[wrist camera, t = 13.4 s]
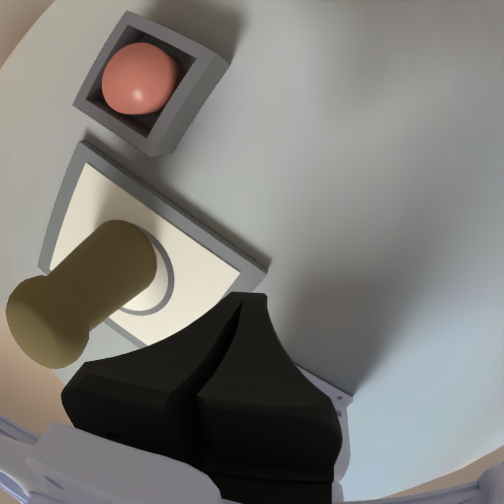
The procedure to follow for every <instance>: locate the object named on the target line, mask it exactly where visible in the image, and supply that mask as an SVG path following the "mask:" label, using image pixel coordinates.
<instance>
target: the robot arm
mask: <svg viewBox="0 0 504 504" xmlns="http://www.w3.org/2000/svg"><path fill="white" fill-rule="evenodd" d="M338 396H341V397H338ZM61 400H62V404H63V406H64V409H65V411H66V413H67V415H68V417H69V418H70V420H71V422H72V423H73V425H74V427H72V426H69V425H65V424H60V423H52V424H51V425H50V426H49V427H48V428H47V429H46V430H45V432H44V433H43V435H42V436H40V435H38V434H36V433H34V432H32V431H30V430H28V429H26V428H24V427H22V426H21V425H19V424H17V423H16V422H14V421H12V420H11V419H9V418H7V417H6V416H4V415H2V414H1V413H0V488H2V489H3V490H4V491H6V492H7V493H8V494H10V495H11V496H12V497H14V498H15V499H16V500H18V501H19V502H21V503H22V504H504V461H503V462H499V463H497V464H495V465H493V466H491V467H489V468H488V469H487V470H486V471H485V472H484V473H483V474H482V475H481V476H480V477H479V479H478V480H476V481H472V482H469V483H465V484H461V485H457V486H453V487H449V488H445V489H440V490H436V491H431V492H426V493H420V494H415V495H408V496H401V497H395V498H386V499H377V500H366V501H351V502H344V499H343V490H342V486H341V484H339V482H340V481H341V479H342V478H343V476H344V474H345V473H346V470H347V468H348V465H349V461H350V442H349V430H348V418H347V408H346V407H347V406H349V405H350V404H351V403H352V402H353V399H352V397H351V396H349V395H348V394H346V393H344V392H342V391H340V390H338V389H337V388H335V387H333V386H331V385H330V384H328V383H326V382H324V381H322V380H321V379H319V378H317V377H315V376H314V375H312V374H310V373H309V372H307V371H305V370H303V369H302V368H300V367H298V366H297V365H295V364H294V363H293V361H292V360H291V359H290V357H289V356H288V354H287V353H286V351H285V350H284V348H283V346H282V345H281V343H280V341H279V339H278V337H277V335H276V332H275V330H274V328H273V325H272V323H271V320H270V317H269V313H268V309H267V296H266V295H265V294H264V293H249V292H235V291H231V292H230V293H229V294H228V295H227V296H225V297H224V298H223V299H222V300H221V301H219V302H218V303H217V304H216V305H215V306H214V307H212V308H211V309H210V310H209V311H207V312H206V313H205V314H204V315H202V316H201V317H199V318H198V319H196V320H195V321H194V322H192V323H191V324H189V325H188V326H186V327H185V328H183V329H181V330H180V331H178V332H176V333H174V334H173V335H171V336H169V337H167V338H165V339H163V340H161V341H158V342H156V343H153V344H151V345H149V346H146V347H144V348H141V349H138V350H135V351H132V352H129V353H126V354H122V355H119V356H115V357H111V358H105V359H100V360H95V361H89V362H85V363H84V364H83V365H82V366H81V367H80V369H79V370H78V371H77V372H76V374H75V375H74V376H73V377H72V379H71V380H70V381H69V382H68V384H67V385H66V386H65V387H64V389H63V391H62V393H61Z"/></svg>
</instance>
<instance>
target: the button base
mask: <svg viewBox="0 0 504 504" xmlns="http://www.w3.org/2000/svg"><path fill="white" fill-rule="evenodd" d="M134 43H148V44H151V45H153V46H155V47H157V48H159V49H161V50H163V51H165V52H167V53H169V54H171V55H173V56H174V57H175V58H176V59H177V60H178V61H179V63H180V65H181V67H182V71H183V80H182V81H181V83H180V84H179V86H178V87H177V89H176V90H175V92H174V94H173V95H172V97H171V98H170V100H169V102H168V103H167V105H166V106H165V108H164V110H163V111H162V112H159V113H157V114H151V115H143V114H123V113H120V112H117V111H115V110H114V109H112V108H111V107H110V106H109V105H108V103H107V102H106V100H105V98H104V95H103V91H102V78H103V73H104V70H105V68H106V66H107V64H108V62H109V61H110V59H111V58H112V57H113V56H114V55H115V54H116V53H117V52H118V51H119V50H120V49H122V48H124V47H125V46H128V45H130V44H134ZM229 66H230V64H228V63H227V62H226V61H225V60H224V59H223V58H222V57H221V56H219V55H218V54H217V53H216V52H214V51H212V50H210V49H208V48H206V47H204V46H202V45H201V44H199V43H197V42H195V41H193V40H191V39H189V38H187V37H185V36H183V35H181V34H179V33H177V32H175V31H173V30H170V29H168V28H166V27H164V26H162V25H160V24H157V23H155V22H153V21H151V20H148V19H146V18H144V17H141V16H139V15H137V14H134V13H132V12H129V11H127V10H126V12H125V13H124V15H123V16H122V18H121V19H120V21H119V22H118V24H117V25H116V27H115V28H114V30H113V31H112V33H111V35H110V36H109V38H108V39H107V41H106V43H105V44H104V46H103V48H102V49H101V51H100V53H99V55H98V56H97V58H96V60H95V62H94V64H93V65H92V67H91V69H90V71H89V73H88V75H87V77H86V78H85V80H84V82H83V84H82V86H81V88H80V90H79V92H78V94H77V97H76V99H75V101H74V103H73V106H74V107H76V108H77V109H79V110H80V111H82V112H83V113H85V114H86V115H88V116H89V117H91V118H92V119H94V120H95V121H97V122H98V123H100V124H101V125H103V126H104V127H106V128H107V129H109V130H110V131H112V132H113V133H115V134H116V135H118V136H119V137H121V138H122V139H124V140H125V141H127V142H128V143H130V144H131V145H133V146H134V147H136V148H137V149H139V150H140V151H141V152H143V153H144V154H146V155H147V156H149V157H150V158H151V157H155V156H159V155H163V154H168V153H172V152H173V151H174V149H175V148H176V146H177V144H178V143H179V141H180V140H181V138H182V136H183V135H184V133H185V132H186V130H187V128H188V127H189V125H190V124H191V122H192V120H193V119H194V117H195V116H196V114H197V113H198V111H199V110H200V108H201V107H202V105H203V104H204V102H205V101H206V99H207V98H208V96H209V95H210V93H211V92H212V90H213V89H214V88H215V86H216V85H217V83H218V82H219V80H220V79H221V78H222V76H223V75H224V73H225V72H226V71H227V69H228V68H229Z"/></svg>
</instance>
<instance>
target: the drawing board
mask: <svg viewBox="0 0 504 504" xmlns="http://www.w3.org/2000/svg"><path fill="white" fill-rule="evenodd" d="M110 220H124V221H126V222H129V223H131V224H133V225H135V226H136V227H137V228H139V229H140V230H141V231H142V232H143V233H144V234H145V235H146V236H147V238H148V239H149V241H150V242H151V244H152V246H153V249H154V251H155V254H156V259H157V271H156V275H155V279H154V280H153V282H152V283H151V284H150V286H149V287H148V288H146V289H145V290H144V291H142V292H141V293H140V294H138V295H137V296H136V297H134V298H133V299H132V300H130V301H129V302H128V303H126V304H125V305H124V306H122V307H121V308H120V309H118V310H117V311H116V312H114V313H113V314H112V315H110V316H109V317H108V318H107V319H105V320H104V321H103V322H105V323H106V324H107V325H109V326H110V327H111V328H113V329H114V330H115V331H117V332H118V333H119V334H121V335H122V336H124V337H125V338H126V339H128V340H129V341H131V342H132V343H133V344H135V345H136V346H138V347H139V348H144V347H146V346H149V345H151V344H153V343H156V342H158V341H161V340H163V339H165V338H167V337H169V336H171V335H173V334H174V333H176V332H178V331H180V330H181V329H183V328H185V327H186V326H188V325H189V324H191V323H192V322H194V321H195V320H196V319H198V318H199V317H201V316H202V315H204V314H205V313H206V312H207V311H209V310H210V309H211V308H212V307H214V306H215V305H216V304H217V303H218V302H219V301H221V300H222V299H223V298H224V297H225V296H227V295H228V294H229V293H230V292H231V291H235V292H249V293H252V292H253V291H254V290H255V288H256V287H257V286H258V285H259V283H260V282H261V281H262V280H263V279H264V277H265V276H266V275H267V272H268V269H266V268H265V267H264V266H262V265H261V264H259V263H258V262H256V261H255V260H254V259H252V258H251V257H249V256H248V255H246V254H245V253H244V252H242V251H241V250H239V249H238V248H236V247H235V246H234V245H232V244H231V243H229V242H228V241H226V240H225V239H224V238H222V237H221V236H219V235H218V234H217V233H215V232H214V231H212V230H211V229H209V228H208V227H207V226H205V225H204V224H202V223H201V222H199V221H198V220H197V219H195V218H194V217H192V216H191V215H189V214H188V213H187V212H185V211H184V210H182V209H181V208H180V207H178V206H177V205H175V204H174V203H172V202H171V201H170V200H168V199H167V198H165V197H164V196H163V195H161V194H160V193H158V192H157V191H155V190H154V189H153V188H151V187H150V186H148V185H147V184H146V183H144V182H143V181H141V180H140V179H139V178H137V177H136V176H134V175H133V174H131V173H130V172H129V171H127V170H126V169H124V168H123V167H122V166H120V165H119V164H117V163H116V162H115V161H113V160H112V159H110V158H109V157H107V156H106V155H105V154H103V153H102V152H100V151H99V150H98V149H96V148H95V147H93V146H92V145H91V144H89V143H88V142H86V141H85V140H84V141H79V142H78V144H77V146H76V149H75V151H74V153H73V156H72V158H71V161H70V163H69V166H68V168H67V171H66V174H65V176H64V179H63V182H62V185H61V187H60V190H59V193H58V196H57V199H56V202H55V205H54V208H53V211H52V215H51V218H50V221H49V224H48V228H47V231H46V235H45V239H44V242H43V246H42V250H41V254H40V258H39V262H38V267H39V268H40V269H41V270H42V271H43V272H44V273H45V274H47V275H48V274H49V273H50V272H51V271H52V270H53V269H54V268H55V267H56V266H57V265H58V264H59V263H60V262H61V261H62V260H63V259H65V258H66V257H67V256H68V255H69V254H70V253H71V252H72V251H73V250H74V249H75V248H76V247H77V246H78V245H79V244H80V243H81V242H83V241H84V240H85V239H86V238H87V237H88V236H89V235H90V234H91V233H92V232H94V231H95V230H96V229H97V228H98V227H99V226H100V225H101V224H103V223H104V222H107V221H110Z"/></svg>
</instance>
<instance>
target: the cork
mask: <svg viewBox="0 0 504 504" xmlns="http://www.w3.org/2000/svg"><path fill="white" fill-rule="evenodd" d="M156 271H157V259H156V254H155V251H154V249H153V246H152V244H151V242H150V241H149V239H148V238H147V236H146V235H145V234H144V233H143V232H142V231H141V230H140V229H139V228H137V227H136V226H135V225H133V224H131V223H129V222H126V221H124V220H110V221H107V222H104V223H103V224H101V225H100V226H99V227H98V228H97V229H96V230H95V231H94V232H92V233H91V234H90V235H89V236H88V237H87V238H86V239H85V240H84V241H83V242H81V243H80V244H79V245H78V246H77V247H76V248H75V249H74V250H73V251H72V252H71V253H70V254H69V255H68V256H67V257H66V258H65V259H63V260H62V261H61V262H60V263H59V264H58V265H57V266H56V267H55V268H54V269H53V270H52V271H51V272H50V273H49V274H48V275H47V276H43V275H40V276H36V277H33V278H29V279H26V280H24V281H23V282H21V283H20V284H19V285H18V286H17V287H16V288H15V290H14V291H13V292H12V294H11V295H10V296H9V299H8V303H7V308H6V317H7V322H8V325H9V328H10V331H11V333H12V335H13V337H14V339H15V340H16V342H17V344H18V345H19V346H20V348H21V349H22V350H23V351H24V352H25V353H26V354H27V355H28V356H29V357H30V358H31V359H32V360H34V361H35V362H37V363H38V364H40V365H42V366H45V367H47V368H51V369H59V368H64V367H66V366H68V365H70V364H72V363H73V362H75V361H76V360H77V359H78V358H79V357H80V356H81V354H82V353H83V351H84V349H85V347H86V345H87V342H88V340H89V332H90V331H91V330H92V329H93V328H95V327H96V326H97V325H99V324H100V323H101V322H103V321H104V320H105V319H107V318H108V317H109V316H110V315H112V314H113V313H114V312H116V311H117V310H118V309H120V308H121V307H122V306H124V305H125V304H126V303H128V302H129V301H130V300H132V299H133V298H134V297H136V296H137V295H138V294H140V293H141V292H142V291H144V290H145V289H146V288H148V287H149V286H150V284H151V283H152V282H153V280H154V279H155V275H156Z"/></svg>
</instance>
